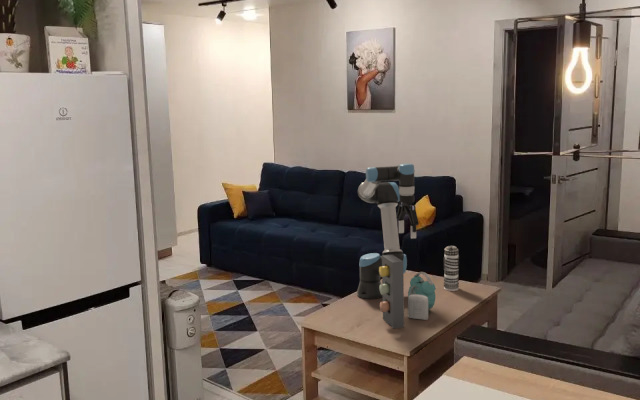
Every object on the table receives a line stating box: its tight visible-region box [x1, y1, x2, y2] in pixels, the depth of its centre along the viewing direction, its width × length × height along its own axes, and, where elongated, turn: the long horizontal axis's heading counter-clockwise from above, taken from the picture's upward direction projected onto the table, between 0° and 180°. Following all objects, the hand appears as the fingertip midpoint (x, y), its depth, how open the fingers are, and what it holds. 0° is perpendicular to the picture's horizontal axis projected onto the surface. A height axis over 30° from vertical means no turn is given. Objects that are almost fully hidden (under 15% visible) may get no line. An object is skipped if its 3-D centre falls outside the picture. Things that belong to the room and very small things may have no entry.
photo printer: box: [407, 294, 429, 321], centre depth 303 cm, size 10×4×12 cm, turn 69°
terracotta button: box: [379, 301, 390, 313], centre depth 296 cm, size 4×5×5 cm
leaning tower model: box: [442, 245, 460, 292], centre depth 347 cm, size 9×9×25 cm
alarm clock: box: [407, 271, 436, 310], centre depth 314 cm, size 17×10×20 cm, turn 23°
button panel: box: [381, 255, 405, 329], centre depth 296 cm, size 6×14×33 cm, turn 16°
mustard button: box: [379, 266, 390, 278], centre depth 293 cm, size 4×5×5 cm
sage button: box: [379, 283, 390, 294], centre depth 294 cm, size 4×5×5 cm
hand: (407, 235), depth 307 cm, fingers open, 13 cm apart
